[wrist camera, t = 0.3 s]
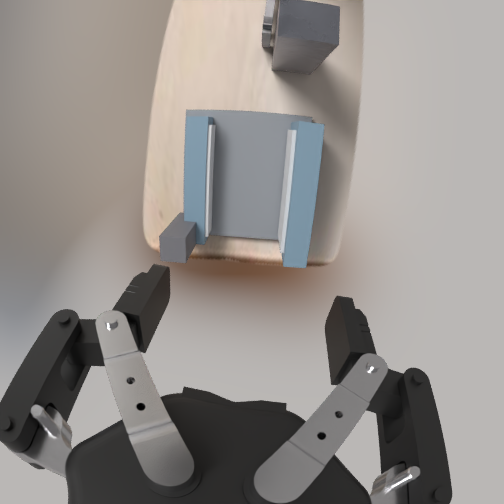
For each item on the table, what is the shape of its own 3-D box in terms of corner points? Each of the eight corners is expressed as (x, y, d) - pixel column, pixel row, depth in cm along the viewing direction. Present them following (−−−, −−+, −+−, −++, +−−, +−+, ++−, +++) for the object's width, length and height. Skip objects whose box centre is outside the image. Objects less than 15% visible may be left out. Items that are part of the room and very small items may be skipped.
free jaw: (182, 117, 34) (158, 115, 26) (216, 117, 34) (202, 114, 26) (180, 232, 41) (160, 260, 32) (211, 235, 41) (199, 264, 32)
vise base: (188, 110, 35) (167, 106, 26) (311, 117, 34) (325, 114, 26) (185, 230, 42) (167, 257, 33) (297, 238, 41) (305, 268, 33)
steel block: (273, 43, 30) (279, -3, 17) (312, 47, 30) (339, 6, 17) (271, 69, 32) (277, 36, 18) (310, 74, 32) (338, 45, 18)
